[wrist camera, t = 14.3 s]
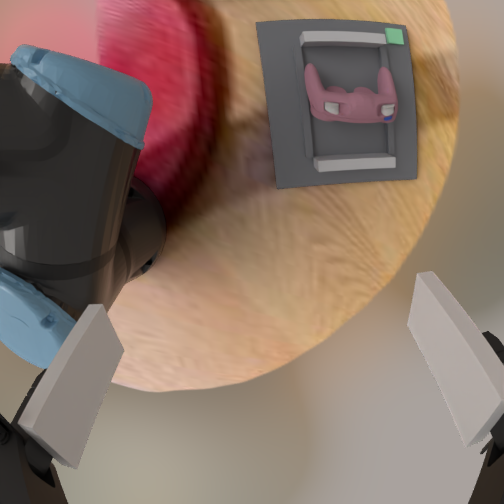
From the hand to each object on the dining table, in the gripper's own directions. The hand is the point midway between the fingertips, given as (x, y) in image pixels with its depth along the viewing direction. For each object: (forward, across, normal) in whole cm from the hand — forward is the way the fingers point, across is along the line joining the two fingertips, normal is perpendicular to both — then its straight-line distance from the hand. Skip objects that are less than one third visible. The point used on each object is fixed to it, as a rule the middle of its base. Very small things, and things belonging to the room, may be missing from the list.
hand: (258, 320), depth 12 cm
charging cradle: (+27, +11, +8) cm, 30 cm away
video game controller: (+25, +11, +9) cm, 29 cm away
